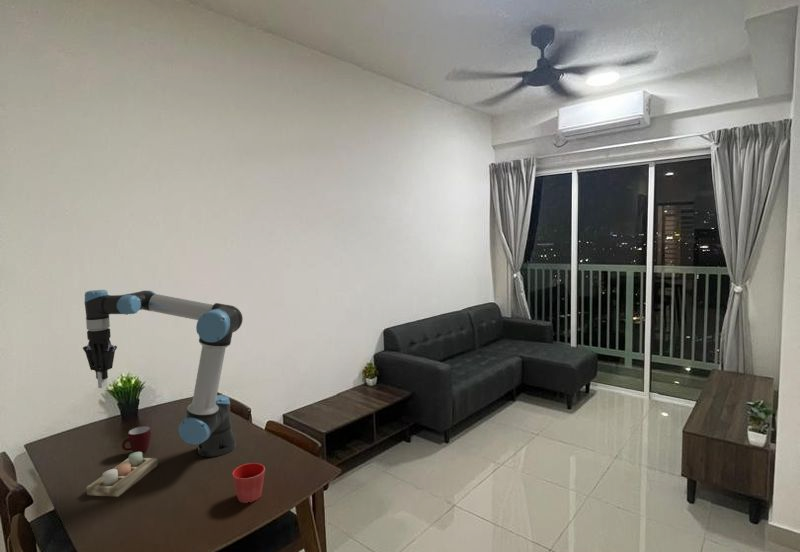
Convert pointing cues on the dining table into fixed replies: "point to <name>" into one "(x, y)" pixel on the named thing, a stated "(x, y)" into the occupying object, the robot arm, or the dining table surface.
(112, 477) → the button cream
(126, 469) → the button terracotta
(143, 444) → the mug
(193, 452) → the dining table surface
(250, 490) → the flower pot
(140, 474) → the button board
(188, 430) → the robot arm
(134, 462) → the button sage
